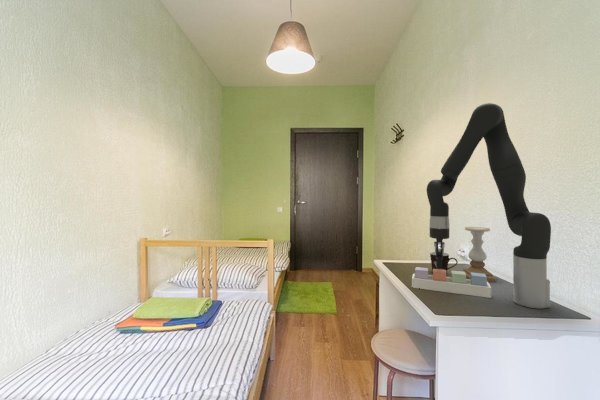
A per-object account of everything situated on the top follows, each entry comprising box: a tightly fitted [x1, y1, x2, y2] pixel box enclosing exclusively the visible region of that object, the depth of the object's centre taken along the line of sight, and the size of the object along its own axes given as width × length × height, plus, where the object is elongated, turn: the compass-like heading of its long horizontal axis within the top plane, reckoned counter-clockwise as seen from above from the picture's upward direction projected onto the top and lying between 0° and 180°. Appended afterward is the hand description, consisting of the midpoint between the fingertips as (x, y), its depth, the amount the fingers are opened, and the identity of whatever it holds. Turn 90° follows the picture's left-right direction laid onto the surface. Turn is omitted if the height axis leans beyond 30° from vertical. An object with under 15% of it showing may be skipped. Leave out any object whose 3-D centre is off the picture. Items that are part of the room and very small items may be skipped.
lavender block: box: [414, 266, 429, 280], centre depth 119 cm, size 5×5×4 cm
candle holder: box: [460, 226, 496, 283], centre depth 130 cm, size 11×11×24 cm
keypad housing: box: [411, 273, 492, 299], centre depth 115 cm, size 28×8×4 cm, turn 63°
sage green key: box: [450, 270, 466, 284], centre depth 113 cm, size 5×5×4 cm
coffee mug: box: [429, 251, 458, 276], centre depth 137 cm, size 12×9×10 cm
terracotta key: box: [432, 269, 447, 282], centre depth 116 cm, size 5×5×4 cm
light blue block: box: [471, 273, 487, 287], centre depth 110 cm, size 5×5×4 cm
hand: (439, 267), depth 116 cm, fingers closed
